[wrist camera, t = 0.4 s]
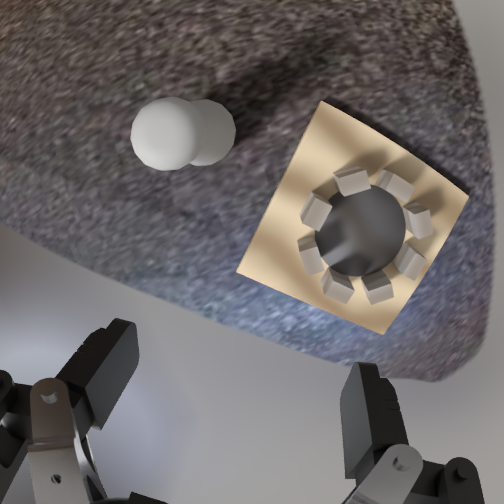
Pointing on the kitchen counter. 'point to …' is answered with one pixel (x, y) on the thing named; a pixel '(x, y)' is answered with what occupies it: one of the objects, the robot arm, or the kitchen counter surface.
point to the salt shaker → (182, 133)
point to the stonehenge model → (352, 222)
